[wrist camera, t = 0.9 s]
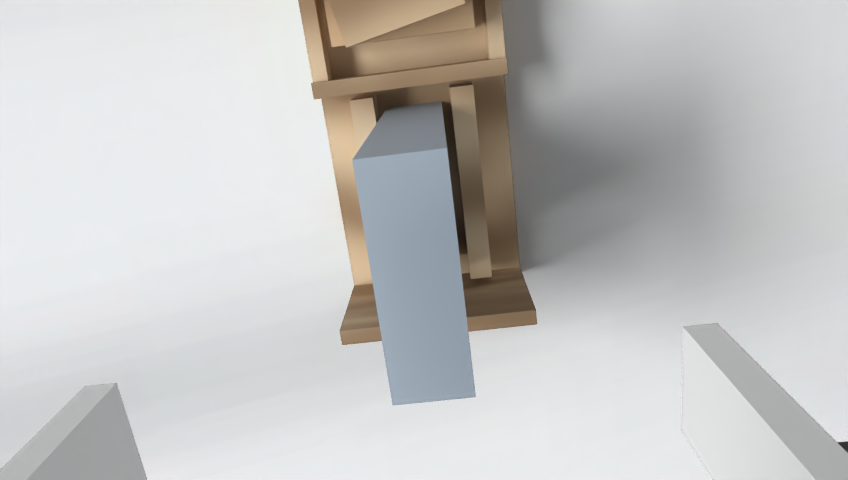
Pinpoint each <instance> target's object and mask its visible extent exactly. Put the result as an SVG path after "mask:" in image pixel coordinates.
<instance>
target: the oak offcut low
mask: <svg viewBox="0 0 848 480" xmlns="http://www.w3.org/2000/svg"><path fill="white" fill-rule="evenodd" d="M324 5H325V11H326V17H327V23H328V29H329V35H330V41H331V47H340V46H345V44H344V41H343V38H342V36H341V33H340V30H339V27H338V25H337V22H336V19H335V17H334V14H333V11H332V9H331V6H330V3H329V0H324ZM473 28H475V22H474V12H473V1H472V0H465V4H464V5H463V6H462V7H459V8H457V9H454V10H451V11H449V12H446V13H443V14H440V15H438V16H435V17H432V18H430V19H427V20H424V21H422V22H419V23H416V24H414V25H411V26H408V27H405V28H403V29H400V30H397V31H395V32H392V33H389V34H387V35H384V36H381V37H379V38H376V39H373V40H370V41H368V42H365V43H370V42H378V41H385V40H392V39H400V38H407V37H415V36H422V35H430V34H437V33H445V32H452V31H460V30H467V29H473ZM362 44H363V43H362Z"/></svg>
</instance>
